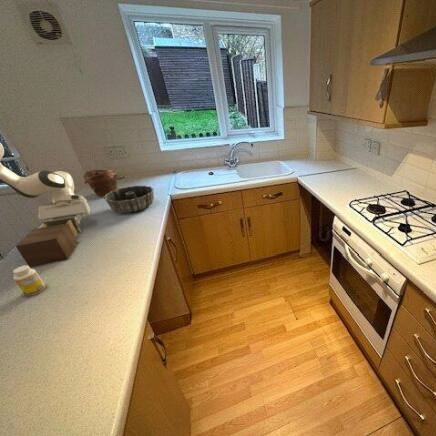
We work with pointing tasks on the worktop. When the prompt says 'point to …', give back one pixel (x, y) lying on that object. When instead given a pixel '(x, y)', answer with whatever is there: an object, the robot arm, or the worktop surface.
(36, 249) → the brown box
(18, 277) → the supplement bottle
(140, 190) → the bundt pan
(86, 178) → the terracotta flower pot
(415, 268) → the worktop surface
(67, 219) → the drawer
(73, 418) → the worktop surface
